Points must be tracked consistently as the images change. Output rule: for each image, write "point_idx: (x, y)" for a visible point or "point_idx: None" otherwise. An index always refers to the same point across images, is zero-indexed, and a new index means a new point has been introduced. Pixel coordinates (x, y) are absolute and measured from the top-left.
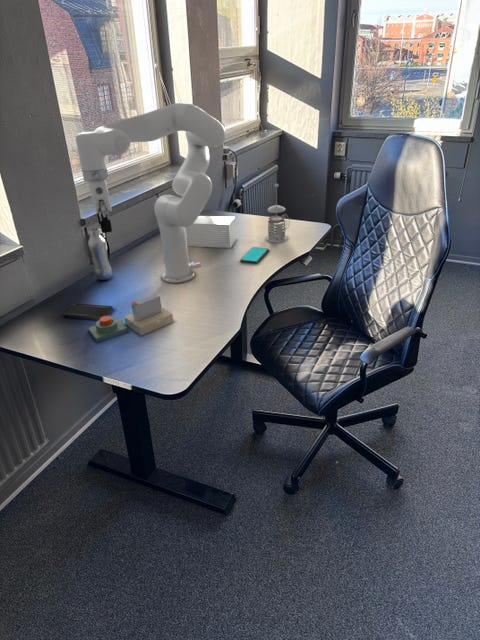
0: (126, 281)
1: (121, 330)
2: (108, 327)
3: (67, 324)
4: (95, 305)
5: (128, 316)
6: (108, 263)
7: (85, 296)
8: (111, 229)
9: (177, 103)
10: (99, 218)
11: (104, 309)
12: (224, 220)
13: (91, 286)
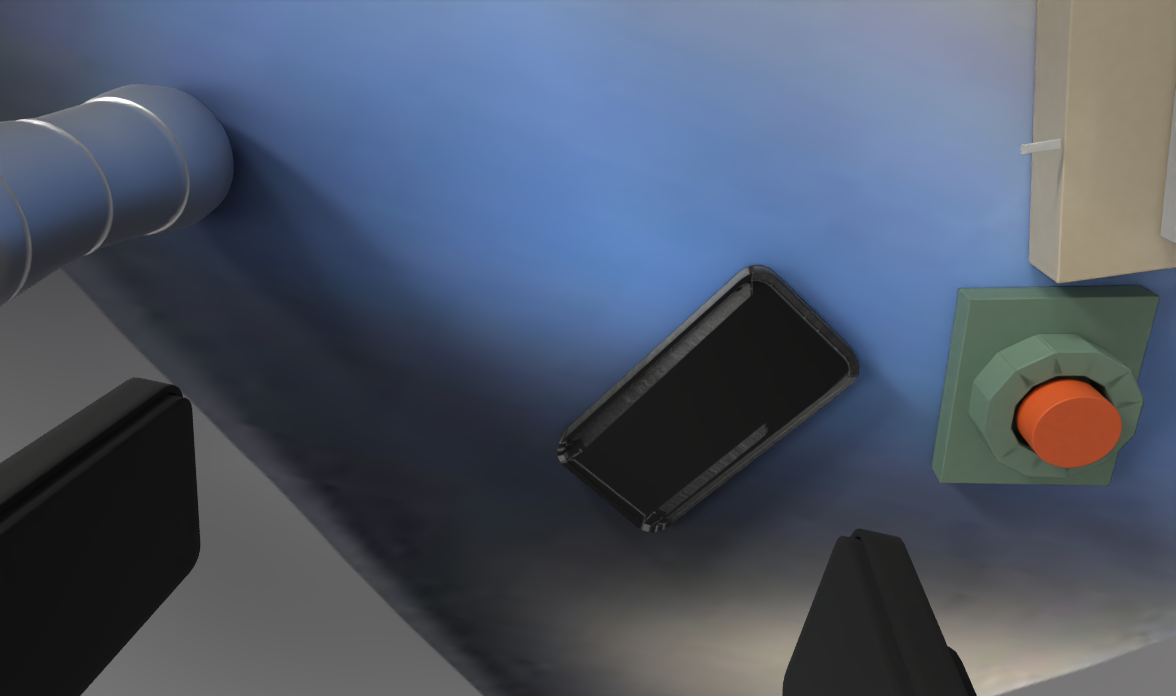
0: (322, 8)
1: (1147, 333)
2: (1136, 424)
3: (752, 529)
4: (657, 358)
5: (1088, 257)
6: (120, 121)
7: (436, 353)
8: (906, 566)
9: None
10: (107, 638)
11: (756, 327)
12: None
13: (293, 275)
